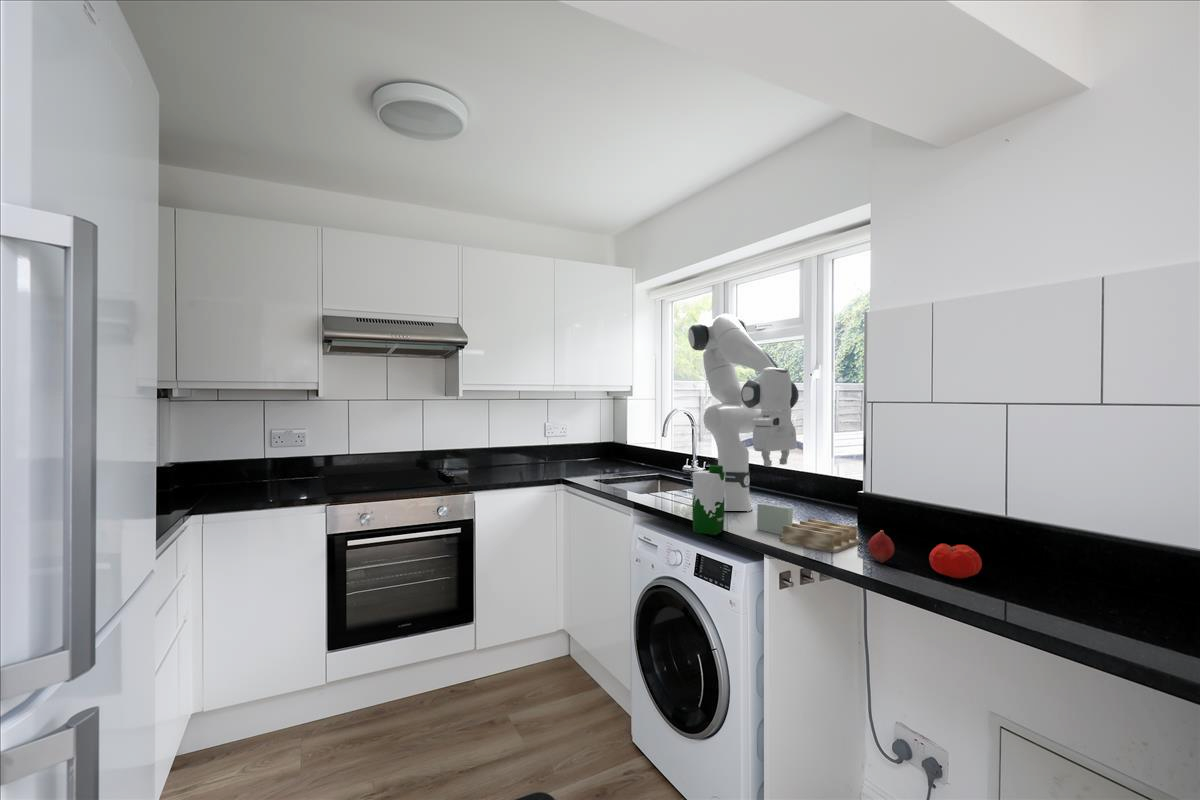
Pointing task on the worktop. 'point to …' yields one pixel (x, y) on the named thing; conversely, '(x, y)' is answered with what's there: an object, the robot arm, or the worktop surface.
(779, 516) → the pale green rectangular block
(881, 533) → the onion
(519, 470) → the worktop surface
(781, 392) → the robot arm
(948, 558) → the tomato
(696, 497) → the milk carton
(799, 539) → the dish rack
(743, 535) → the worktop surface
